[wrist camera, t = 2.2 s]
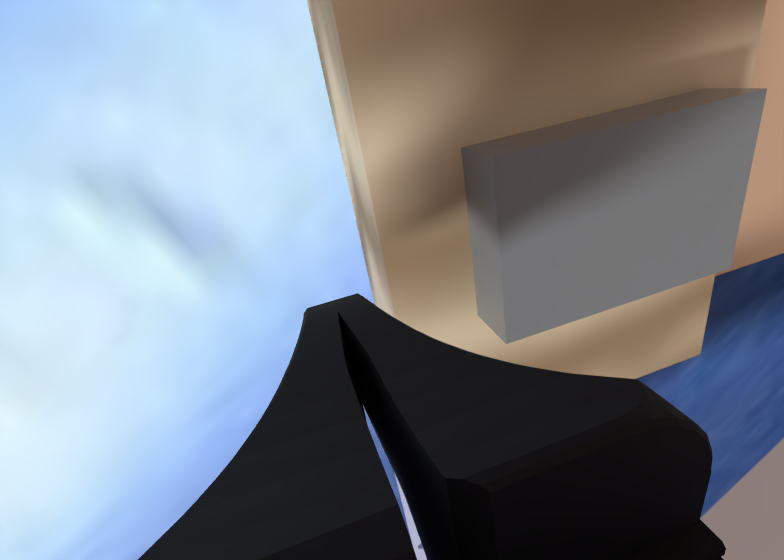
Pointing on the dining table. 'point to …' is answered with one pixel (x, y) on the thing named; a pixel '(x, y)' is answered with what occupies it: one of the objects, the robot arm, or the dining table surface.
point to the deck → (500, 119)
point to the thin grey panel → (607, 207)
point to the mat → (766, 152)
